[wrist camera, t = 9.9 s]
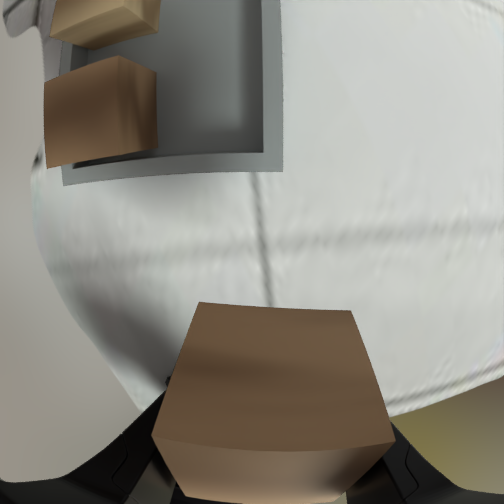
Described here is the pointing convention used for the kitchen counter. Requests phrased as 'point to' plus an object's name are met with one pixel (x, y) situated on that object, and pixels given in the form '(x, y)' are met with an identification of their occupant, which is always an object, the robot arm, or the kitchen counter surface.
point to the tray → (201, 91)
